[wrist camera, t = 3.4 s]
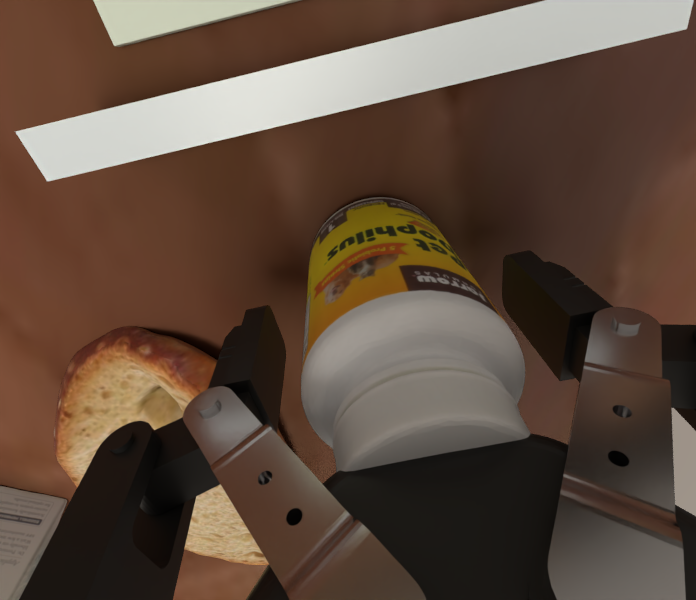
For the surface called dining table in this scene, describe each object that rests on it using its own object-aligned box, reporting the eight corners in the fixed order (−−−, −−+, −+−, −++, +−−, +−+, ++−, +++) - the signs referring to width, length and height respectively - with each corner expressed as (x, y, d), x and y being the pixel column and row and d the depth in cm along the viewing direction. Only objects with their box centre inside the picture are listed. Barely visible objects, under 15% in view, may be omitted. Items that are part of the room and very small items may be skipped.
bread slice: (295, 547, 30) (292, 604, 26) (44, 502, 24) (2, 568, 21) (420, 409, 22) (437, 467, 19) (89, 295, 16) (33, 349, 13)
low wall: (582, 39, 12) (687, 29, 9) (119, 151, 13) (47, 181, 9) (588, -7, 11) (702, -39, 8) (99, 113, 12) (15, 131, 9)
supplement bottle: (447, 189, 14) (642, 374, 6) (430, 308, 17) (541, 546, 9) (303, 193, 14) (279, 394, 5) (312, 312, 17) (304, 565, 8)
